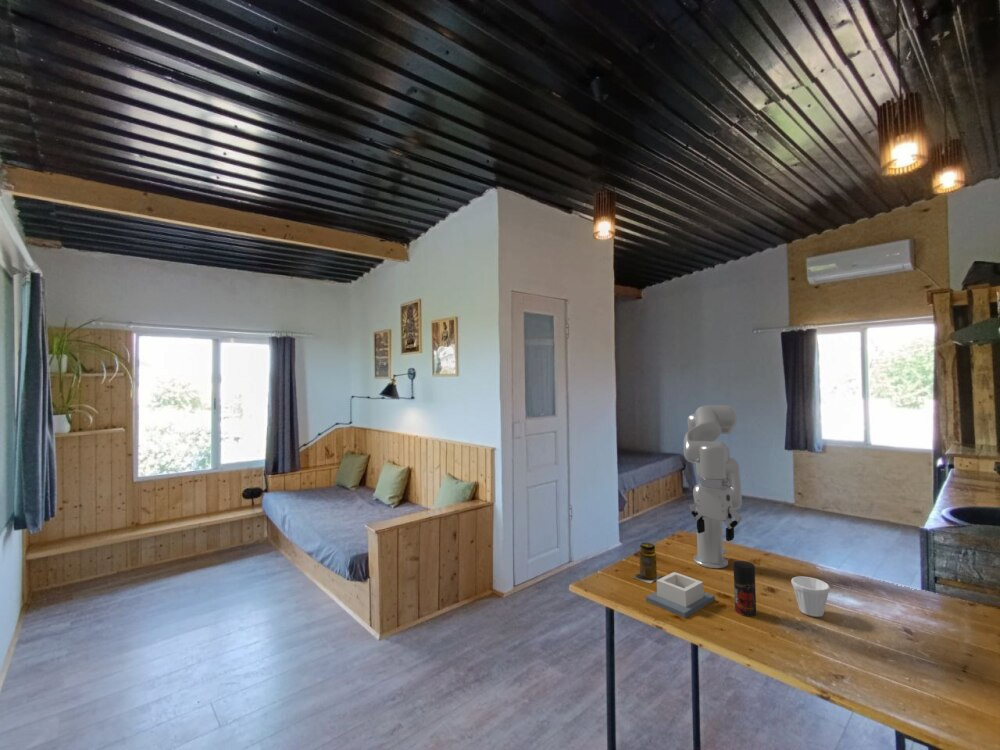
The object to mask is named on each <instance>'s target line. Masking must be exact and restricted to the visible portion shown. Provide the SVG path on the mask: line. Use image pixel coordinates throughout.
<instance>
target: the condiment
mask: <svg viewBox="0 0 1000 750" xmlns="http://www.w3.org/2000/svg"><path fill="white" fill-rule="evenodd" d="M639 547H640V548H639V550H640V551H639V553H638V554H639V573H637V574H635V575H634V576H632V578H633V579H636V580H638V581H641V582H643V583H647V584H652V583H653V582H655V581H657V580H658V579H660V578H662V575H658V574H657V573H658V572H657V570H658V569H657V553H656V546H655V544H653V543H652V542H651V543H650V542H643V543H641V544H640V546H639Z"/></svg>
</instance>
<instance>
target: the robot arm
mask: <svg viewBox="0 0 1000 750" xmlns="http://www.w3.org/2000/svg"><path fill="white" fill-rule="evenodd" d="M737 415H738V414H737V412H736V409H734V408H733V407H732V406H731V405H728V404H727V405H725V404H724V405H721V404H719V405H718V404H714V405H708V404H706V405H701V406H700V407H698V408H697V409H695V411H694V413H692V414H690V415H688V416H687V421H686V422H687V429H688V431H687V432H686V433H685V435H684V438H683V455H684V458H685V460H686V461H687V462H688V463H693V464H695V470H696V471H695V472H696V475H697V477H698V478H699V479H700V483H698V484H696V485H694V487H693V490H692V495H693V500H694V501H693V502H694V503H692V504H689V505H688V507H689V509H690V510H689V511H691V514H692V516H693V517H694V520H695V521H696V542H697V543H696V545H697V547H696V550H697V554H696V555H695V554H694V556H693V562H695V564H697V565H699V566H701V567H705V568H710V569H724V568H726V567H727V566H728V565H729V561H728V559H726V558H725V557H724V556H725V554H727V553H728V549H727V548H725V547H724V532H723V531H724V530H723V523H724V524H725V527H726V528H725V540H726V542H730V541H733V540H734V538H735V527H736V526H738V525H739V524H740V522H741V520H742V518H743V515H742V514H740V513H739V512H737V511H736V510H738V509H740V508H741V507H742V502H743V495H742V486H741V485H742V484H741V483H742V482H741V472H740V465H739V463H738V461H737V459H735V458H734V457H731V456H730V455H731V452H730V451H731V450H730V448H729V446H728V445H727V443H725V442H722V441H717V439H718V438H719V437H720V436H721V435H730V434H733V432H734V430H735V428H736V426H737V422H738V416H737ZM733 519H734V520H733Z"/></svg>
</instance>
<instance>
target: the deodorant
mask: <svg viewBox="0 0 1000 750" xmlns="http://www.w3.org/2000/svg"><path fill="white" fill-rule="evenodd" d="M755 568H756V567H755V564H754V563H752V562H750V561H748V560H747V561H746V560H735V561H733V588H734V589H733V591H734V593H733V594H734V610H735V613H737V614H738V615H740V616H743V617H748V618H751V617H755V616H757V595H756V594H757V593H756V571H755V570H756V569H755Z"/></svg>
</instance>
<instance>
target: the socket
mask: <svg viewBox="0 0 1000 750" xmlns="http://www.w3.org/2000/svg"><path fill="white" fill-rule="evenodd" d="M715 598H716V597H715V595H713V594H711V593H709V592H705V591H704V581H701V580H698V579H695V578H693V577H690V576H688V575H684V574H683V573H682V574H681V573H678V572H676V571H674V572H670V573H669V574H667V575H665V576H663V577H662V576H661V577H660V578H658V579H657V580H656V591H655V592H653V593H651V594H648V595H646V596H645V602H647V603H650V604H651V605H653V606H656V607H659V608H661V609H662V610H663V609H664V611H668V612H670V613H673V614H674V615H677V616H679V617H682V618H684V619H686V618H687V617H689V616H690V615H692V614H694V613H696V612H697V611H699V610H701V609H703V608H704V607H706V606H707V605H709V604H710V603H713V602H714V601H715Z"/></svg>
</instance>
